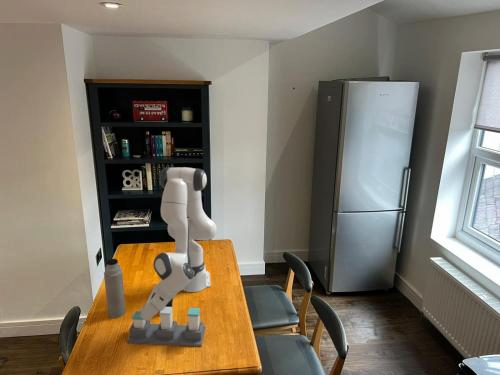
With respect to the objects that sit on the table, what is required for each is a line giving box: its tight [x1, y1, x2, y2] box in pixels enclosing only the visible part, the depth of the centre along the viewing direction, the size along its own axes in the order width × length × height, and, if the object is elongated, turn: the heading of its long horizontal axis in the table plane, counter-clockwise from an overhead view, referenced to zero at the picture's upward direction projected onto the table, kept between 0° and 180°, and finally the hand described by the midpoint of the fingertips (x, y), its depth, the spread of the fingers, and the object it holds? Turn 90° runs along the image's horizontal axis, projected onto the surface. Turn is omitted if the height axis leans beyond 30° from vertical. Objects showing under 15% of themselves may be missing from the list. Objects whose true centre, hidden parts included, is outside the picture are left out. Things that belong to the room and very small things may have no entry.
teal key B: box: [187, 307, 201, 331], centre depth 159 cm, size 5×5×9 cm
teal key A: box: [131, 310, 146, 328], centre depth 161 cm, size 5×5×9 cm
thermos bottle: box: [103, 258, 127, 319], centre depth 172 cm, size 8×8×28 cm
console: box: [126, 319, 207, 347], centre depth 161 cm, size 12×32×5 cm, turn 88°
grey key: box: [159, 306, 174, 330], centre depth 159 cm, size 5×5×9 cm
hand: (142, 310), depth 159 cm, fingers closed
